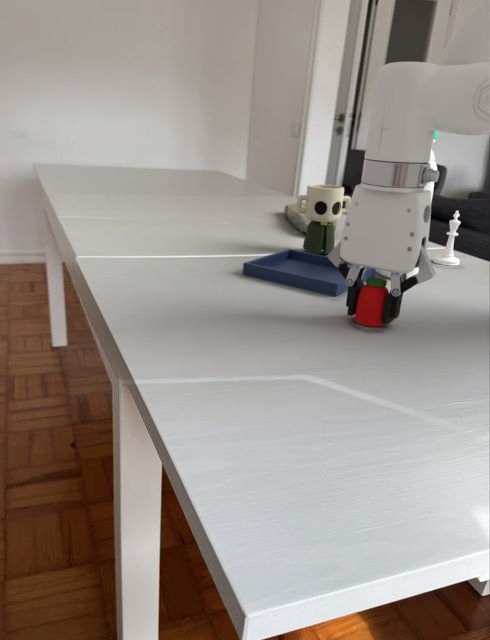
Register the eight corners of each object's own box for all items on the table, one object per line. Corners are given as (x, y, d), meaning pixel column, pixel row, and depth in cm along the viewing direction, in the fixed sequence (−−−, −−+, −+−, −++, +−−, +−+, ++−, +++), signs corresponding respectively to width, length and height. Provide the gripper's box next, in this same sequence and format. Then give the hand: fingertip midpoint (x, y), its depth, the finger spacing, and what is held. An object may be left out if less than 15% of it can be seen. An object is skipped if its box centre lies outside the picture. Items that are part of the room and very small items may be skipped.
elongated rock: (312, 218, 156) (277, 218, 156) (313, 198, 154) (277, 199, 154) (345, 237, 123) (301, 238, 123) (346, 213, 121) (302, 214, 121)
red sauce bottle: (390, 320, 75) (398, 279, 72) (379, 329, 72) (386, 286, 69) (361, 313, 77) (367, 273, 75) (349, 321, 74) (355, 279, 72)
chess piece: (428, 261, 108) (438, 210, 104) (440, 258, 111) (450, 208, 107) (452, 267, 105) (464, 214, 101) (463, 263, 108) (475, 211, 104)
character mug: (297, 256, 107) (304, 188, 102) (287, 248, 113) (293, 183, 108) (350, 257, 109) (359, 189, 104) (337, 248, 115) (345, 184, 110)
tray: (374, 277, 96) (376, 266, 95) (335, 296, 84) (337, 284, 84) (287, 258, 105) (288, 248, 104) (242, 274, 94) (243, 262, 93)
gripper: (473, 181, 65) (442, 325, 72) (342, 168, 74) (326, 297, 81) (456, 186, 60) (424, 341, 67) (317, 172, 69) (302, 310, 76)
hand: (371, 316), depth 74 cm, fingers closed on red sauce bottle, 4 cm apart
